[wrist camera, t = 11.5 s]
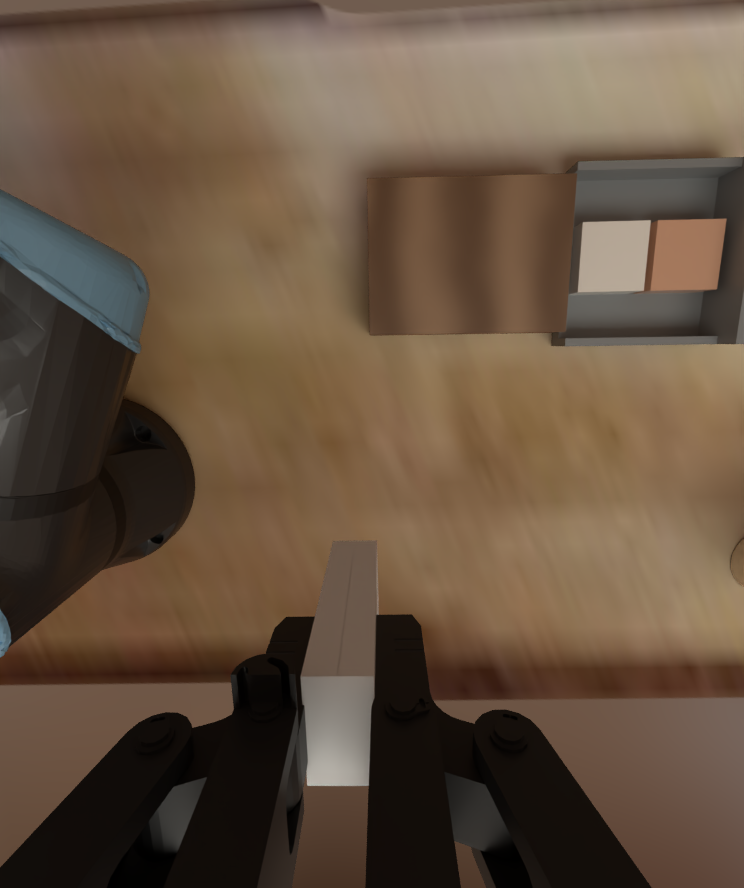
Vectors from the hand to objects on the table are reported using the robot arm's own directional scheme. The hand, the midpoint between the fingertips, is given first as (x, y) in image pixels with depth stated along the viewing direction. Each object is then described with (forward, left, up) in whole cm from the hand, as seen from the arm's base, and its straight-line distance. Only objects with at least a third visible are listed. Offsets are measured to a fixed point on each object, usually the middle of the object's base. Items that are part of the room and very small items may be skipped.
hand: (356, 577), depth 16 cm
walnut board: (+8, +14, -26) cm, 31 cm away
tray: (+22, +14, -26) cm, 37 cm away
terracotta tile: (+24, +14, -23) cm, 36 cm away
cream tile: (+19, +14, -26) cm, 35 cm away
